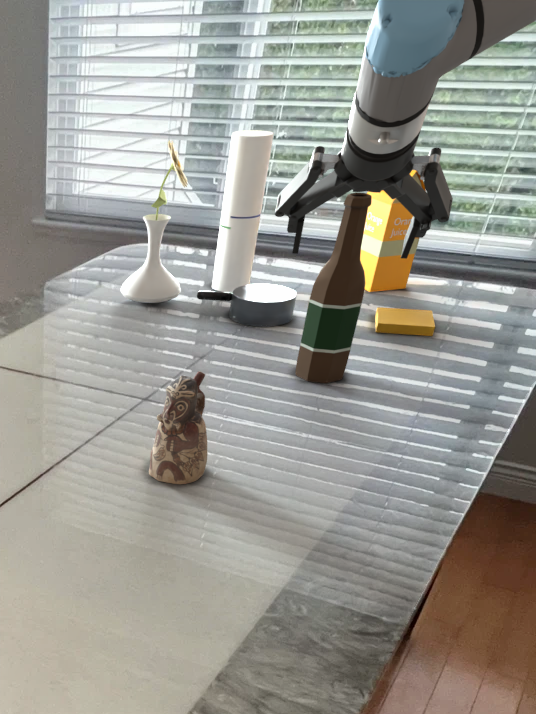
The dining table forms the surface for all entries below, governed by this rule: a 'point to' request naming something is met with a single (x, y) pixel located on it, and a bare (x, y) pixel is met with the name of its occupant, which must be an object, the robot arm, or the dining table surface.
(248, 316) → the steel pan
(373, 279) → the orange juice
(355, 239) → the beer bottle
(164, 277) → the flower in vase
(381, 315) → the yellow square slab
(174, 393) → the figurine
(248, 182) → the cylindrical container
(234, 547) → the dining table surface
